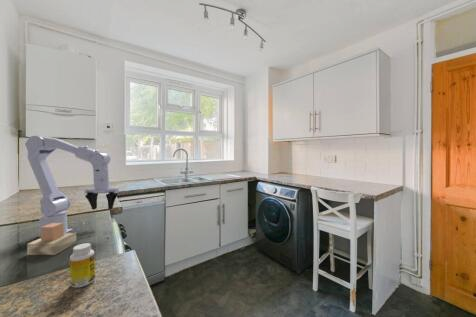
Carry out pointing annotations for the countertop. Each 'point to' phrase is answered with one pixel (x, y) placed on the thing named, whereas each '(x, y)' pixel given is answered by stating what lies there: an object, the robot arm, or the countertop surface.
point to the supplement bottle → (82, 265)
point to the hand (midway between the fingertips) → (102, 208)
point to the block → (52, 231)
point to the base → (51, 245)
